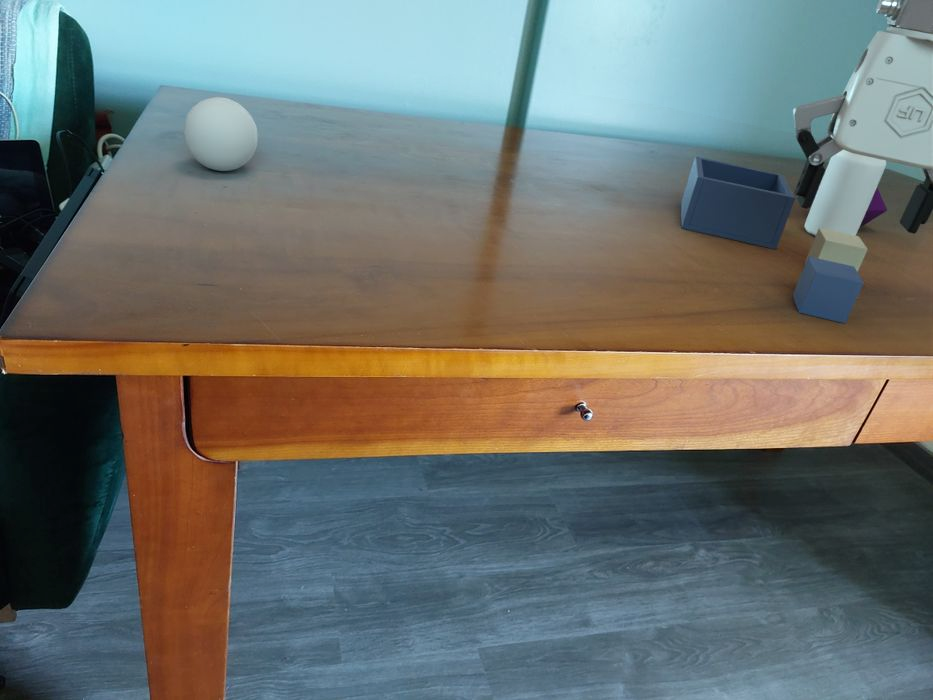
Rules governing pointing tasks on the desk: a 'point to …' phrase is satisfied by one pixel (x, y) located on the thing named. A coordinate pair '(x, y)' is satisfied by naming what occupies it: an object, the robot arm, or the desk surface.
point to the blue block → (827, 289)
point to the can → (844, 193)
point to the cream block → (838, 248)
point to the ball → (220, 134)
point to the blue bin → (736, 202)
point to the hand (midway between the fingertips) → (854, 216)
